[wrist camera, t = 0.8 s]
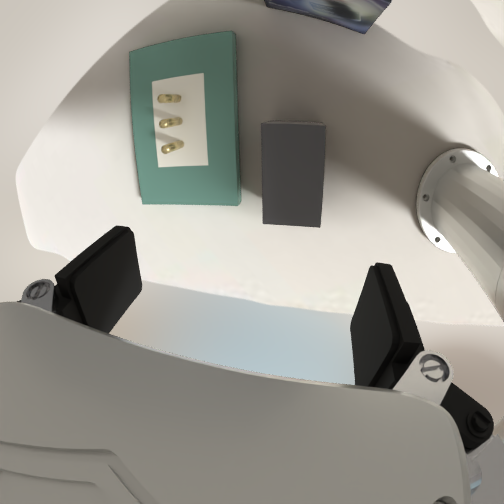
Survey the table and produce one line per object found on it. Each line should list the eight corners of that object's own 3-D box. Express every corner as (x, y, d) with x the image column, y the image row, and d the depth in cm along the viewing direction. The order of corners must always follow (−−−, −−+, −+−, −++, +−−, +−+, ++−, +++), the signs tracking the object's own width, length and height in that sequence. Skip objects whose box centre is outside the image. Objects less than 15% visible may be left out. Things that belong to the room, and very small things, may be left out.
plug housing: (322, 122, 25) (325, 125, 20) (318, 205, 30) (320, 227, 25) (270, 120, 26) (261, 123, 21) (271, 202, 31) (262, 223, 26)
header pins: (181, 93, 25) (165, 93, 22) (184, 148, 28) (169, 153, 25) (173, 95, 25) (157, 94, 22) (176, 148, 28) (161, 154, 25)
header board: (235, 34, 22) (231, 30, 21) (241, 201, 31) (237, 206, 30) (136, 53, 24) (128, 51, 23) (148, 200, 33) (142, 204, 32)
